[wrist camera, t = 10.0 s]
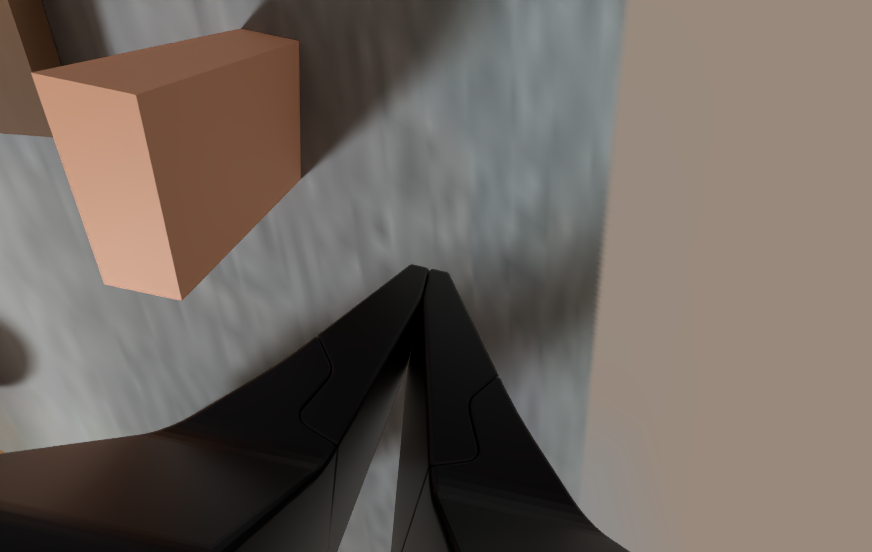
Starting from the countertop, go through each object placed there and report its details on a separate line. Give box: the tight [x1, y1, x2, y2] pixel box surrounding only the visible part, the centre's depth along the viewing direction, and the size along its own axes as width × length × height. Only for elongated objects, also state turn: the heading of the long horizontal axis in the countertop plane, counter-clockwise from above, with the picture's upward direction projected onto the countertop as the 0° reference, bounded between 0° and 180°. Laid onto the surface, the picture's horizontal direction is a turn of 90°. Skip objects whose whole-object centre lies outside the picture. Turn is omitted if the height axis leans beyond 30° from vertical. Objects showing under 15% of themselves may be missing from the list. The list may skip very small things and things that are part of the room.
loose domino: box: [31, 29, 301, 301], centre depth 13 cm, size 2×5×8 cm, turn 170°
